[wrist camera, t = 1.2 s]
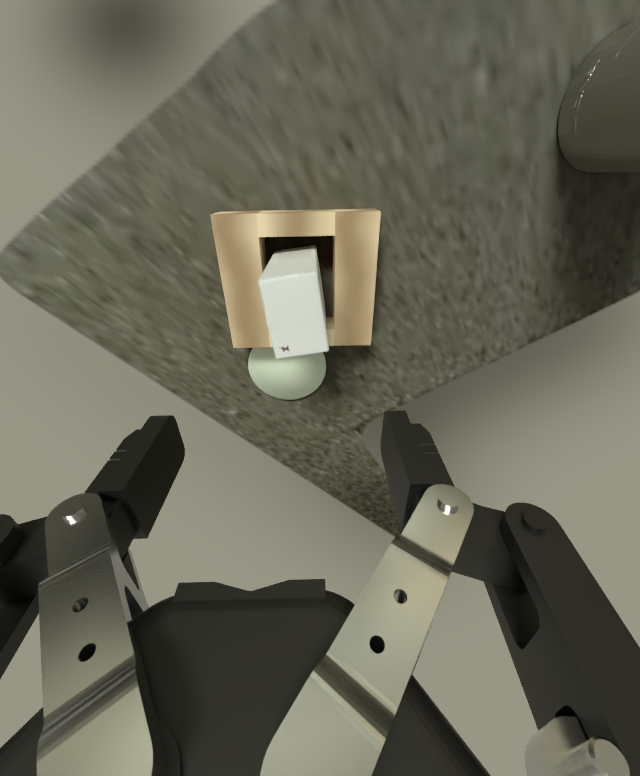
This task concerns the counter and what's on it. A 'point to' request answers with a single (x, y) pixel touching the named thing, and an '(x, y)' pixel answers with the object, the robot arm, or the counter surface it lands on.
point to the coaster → (286, 373)
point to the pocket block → (248, 228)
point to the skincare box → (294, 302)
